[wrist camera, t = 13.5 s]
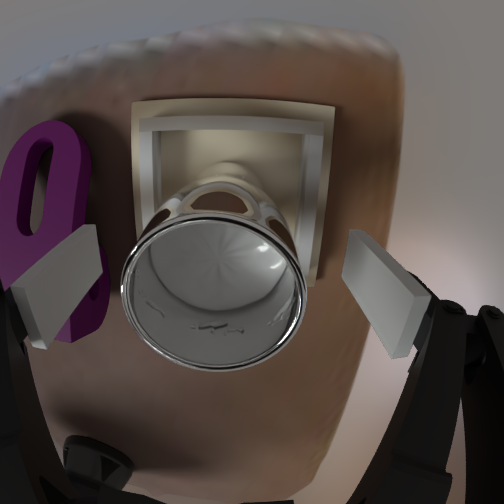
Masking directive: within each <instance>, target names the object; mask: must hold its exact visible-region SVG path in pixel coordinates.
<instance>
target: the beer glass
mask: <svg viewBox="0 0 504 504" xmlns="http://www.w3.org/2000/svg"><path fill="white" fill-rule="evenodd" d="M120 292H121V300H122V305H123V308H124V311H125V314H126V316H127V319H128V321H129V323H130V324H131V326H132V328H133V329H134V331H135V332H136V333H137V335H138V336H139V337H140V338H141V339H142V340H143V342H144V343H145V344H147V345H148V346H149V347H150V348H151V349H152V350H154V351H155V352H156V353H158V354H159V355H161V356H162V357H164V358H166V359H168V360H170V361H172V362H174V363H176V364H179V365H181V366H184V367H187V368H191V369H195V370H200V371H208V372H229V371H236V370H241V369H245V368H249V367H252V366H255V365H257V364H260V363H262V362H264V361H266V360H268V359H269V358H271V357H273V356H274V355H275V354H277V353H278V352H279V351H281V350H282V349H283V348H284V347H285V346H286V345H287V344H288V343H289V342H290V341H291V340H292V338H293V337H294V336H295V334H296V333H297V331H298V329H299V327H300V325H301V323H302V321H303V318H304V315H305V311H306V306H307V286H306V281H305V277H304V274H303V271H302V268H301V265H300V260H299V256H298V252H297V248H296V244H295V241H294V238H293V235H292V233H291V230H290V227H289V225H288V223H287V221H286V219H285V217H284V216H283V214H282V212H281V211H280V209H279V207H278V206H277V205H276V203H275V202H274V201H273V200H272V199H271V198H270V197H269V196H268V195H267V194H266V193H265V191H264V188H263V185H262V183H261V181H260V179H259V178H258V176H257V175H256V174H255V173H254V172H253V171H252V170H250V169H249V168H247V167H246V166H244V165H241V164H238V163H234V162H220V163H216V164H213V165H211V166H209V167H207V168H205V169H204V170H203V171H201V172H200V173H199V174H198V175H197V177H196V178H195V179H194V181H193V182H191V183H189V184H187V185H185V186H183V187H182V188H180V189H179V190H177V191H176V192H175V193H174V194H173V195H171V196H170V197H169V198H168V199H167V200H166V201H165V202H164V203H163V204H162V205H161V206H160V207H159V209H158V210H157V211H156V213H155V214H154V215H153V217H152V218H151V219H150V221H149V222H148V224H147V226H146V227H145V229H144V231H143V232H142V234H141V236H140V238H139V240H138V242H137V243H136V245H135V246H134V247H133V249H132V250H131V252H130V254H129V255H128V257H127V259H126V262H125V264H124V267H123V271H122V275H121V284H120Z"/></svg>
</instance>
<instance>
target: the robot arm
mask: <svg viewBox="0 0 504 504" xmlns="http://www.w3.org/2000/svg"><path fill="white" fill-rule="evenodd" d="M102 272H103V270H102V265H101V259H100V253H99V246H98V239H97V232H96V224H89V225H82V226H81V227H80V228H78V229H77V230H76V231H74V232H73V233H72V234H70V235H69V236H68V237H67V238H65V239H64V240H63V241H62V242H60V243H59V244H58V245H57V246H55V247H54V248H53V249H52V250H50V251H49V252H48V253H47V254H46V255H44V256H43V257H42V258H41V259H40V260H39V261H37V262H36V263H35V264H34V265H33V266H32V267H30V268H29V269H28V270H27V271H26V272H25V273H24V274H23V275H21V276H20V277H19V278H18V279H17V280H16V281H15V282H14V283H13V284H12V285H11V286H10V287H9V288H8V289H7V290H6V291H4V288H3V285H2V282H1V279H0V504H166V503H163V502H160V501H158V500H155V499H153V498H150V497H147V496H145V495H141V494H136V493H130V492H126V491H122V489H123V488H124V486H125V485H126V483H127V482H128V480H129V479H130V477H131V476H132V472H133V467H134V465H133V463H132V462H131V460H130V459H128V458H127V457H126V456H125V455H123V454H122V453H120V452H118V451H117V450H115V449H113V448H111V447H109V446H107V445H105V444H102V443H100V442H97V441H95V440H92V439H88V438H84V437H80V436H69V437H67V438H66V440H65V443H64V446H63V464H64V467H63V465H62V463H61V460H60V458H59V456H58V453H57V451H56V448H55V446H54V443H53V440H52V438H51V435H50V432H49V429H48V427H47V424H46V421H45V418H44V415H43V411H42V408H41V405H40V402H39V398H38V395H37V391H36V387H35V383H34V379H33V375H32V371H31V367H30V362H29V357H28V352H27V347H26V345H25V343H24V341H23V340H24V339H25V338H26V336H27V335H28V336H29V339H30V341H31V343H32V346H33V347H37V348H42V349H46V350H47V348H48V347H49V345H50V344H51V342H52V341H53V339H54V338H55V336H56V335H57V333H58V332H59V331H60V329H61V328H62V326H63V325H64V323H65V322H66V320H67V319H68V318H69V316H70V315H71V313H72V312H73V311H74V309H75V308H76V307H77V305H78V304H79V302H80V301H81V300H82V298H83V297H84V296H85V294H86V293H87V292H88V290H89V289H90V288H91V287H92V285H93V284H94V283H95V281H96V280H97V279H98V277H99V276H100V275H101V274H102ZM341 277H342V279H343V280H344V282H345V284H346V285H347V287H348V288H349V290H350V291H351V293H352V294H353V296H354V298H355V299H356V301H357V302H358V304H359V306H360V307H361V309H362V310H363V312H364V314H365V315H366V317H367V319H368V320H369V322H370V323H371V325H372V327H373V328H374V330H375V332H376V333H377V335H378V337H379V338H380V340H381V342H382V343H383V345H384V347H385V349H386V350H387V352H388V354H389V355H390V357H391V359H394V358H401V357H407V356H408V355H409V352H410V350H411V348H412V345H413V344H414V346H415V347H416V349H417V350H418V351H417V353H416V355H415V357H414V359H413V361H412V364H411V366H410V368H409V370H408V372H409V375H408V378H407V381H406V383H405V386H404V389H403V392H402V394H401V396H400V399H399V402H398V404H397V407H396V409H395V411H394V414H393V416H392V419H391V421H390V423H389V425H388V428H387V430H386V432H385V434H384V436H383V438H382V440H381V443H380V445H379V447H378V449H377V451H376V453H375V455H374V457H373V459H372V461H371V462H370V465H369V466H368V468H367V470H366V472H365V474H364V475H363V477H362V479H361V481H360V483H359V484H358V486H357V488H356V489H355V491H354V493H353V494H352V496H351V497H350V499H349V500H348V502H347V503H346V504H446V500H447V498H448V495H449V492H450V488H451V484H452V474H451V473H447V472H446V470H445V469H446V464H447V461H448V457H449V453H450V449H451V445H452V440H453V436H454V431H455V427H456V422H457V416H458V411H459V405H460V398H461V400H462V409H463V418H464V431H465V447H466V495H465V496H466V497H465V504H504V314H503V313H502V312H501V311H500V309H498V308H496V307H495V306H489V305H484V306H482V307H481V308H480V310H479V313H478V315H477V316H473V315H467V313H466V310H465V309H464V308H463V307H462V306H461V305H459V304H458V303H456V302H454V301H450V300H440V299H439V298H438V297H437V296H436V295H435V294H434V293H433V292H432V291H431V290H430V289H429V288H427V286H426V285H425V284H424V283H422V281H421V280H420V279H419V278H418V277H417V276H415V275H414V274H412V273H410V272H408V271H406V270H405V269H404V268H403V267H402V266H401V265H400V264H399V263H398V262H397V261H396V260H395V259H394V258H393V257H392V256H391V255H390V254H389V253H388V252H387V251H385V250H384V249H383V248H382V247H381V246H380V245H379V244H378V243H377V242H376V241H375V240H373V239H372V238H371V237H370V236H369V235H368V234H367V233H366V232H365V231H363V230H355V229H350V230H349V236H348V242H347V248H346V254H345V260H344V265H343V271H342V276H341ZM241 504H294V501H293V500H285V501H273V502H253V503H241Z"/></svg>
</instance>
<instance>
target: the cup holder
mask: <svg viewBox="0 0 504 504" xmlns="http://www.w3.org/2000/svg"><path fill="white" fill-rule="evenodd" d="M334 114H335V107H332V106H324V105H317V104H308V103H299V102H289V101H277V100H262V99H240V98H189V99H167V100H152V101H140V102H132V123H131V142H132V178H133V197H134V211H135V224H136V234H137V242H138V240H139V238H140V236H141V234H142V232H143V231H144V229H145V227H146V226H147V224H148V222H149V221H150V219H151V218H152V217H153V215H154V214H155V213H156V211H157V210H158V209H159V207H160V206H161V205H162V204H163V203H164V202H165V201H166V200H167V199H168V198H169V197H170V196H171V195H173V194H174V193H175V192H176V191H177V190H179V189H180V188H182V187H183V186H185V185H187V184H189V183H191V182H193V181H194V179H195V178H196V177H197V175H198V174H199V173H200V172H201V171H203V170H204V169H205V168H207V167H209V166H211V165H213V164H216V163H220V162H234V163H238V164H241V165H244V166H246V167H247V168H249V169H250V170H252V171H253V172H254V173H255V174H256V175H257V176H258V178H259V179H260V181H261V183H262V185H263V188H264V191H265V193H266V194H267V195H268V196H269V197H270V198H271V199H272V200H273V201H274V202H275V203H276V205H277V206H278V207H279V209H280V211H281V212H282V214H283V216H284V217H285V219H286V221H287V223H288V225H289V227H290V230H291V233H292V235H293V238H294V241H295V244H296V248H297V252H298V256H299V260H300V265H301V268H302V271H303V274H304V277H305V281H306V286H307V287H315V281H316V275H317V269H318V262H319V255H320V248H321V241H322V234H323V227H324V219H325V211H326V202H327V194H328V184H329V175H330V165H331V154H332V142H333V129H334Z"/></svg>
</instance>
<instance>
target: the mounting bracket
mask: <svg viewBox="0 0 504 504" xmlns="http://www.w3.org/2000/svg"><path fill="white" fill-rule="evenodd" d="M51 146H54V150H53V156H52V161H51V166H50V171H49V177H48V182H47V189H46V195H45V203H44V210H43V219H42V223H41V225H40V227H39V229H38V230H37V232H36V233H35V234H33V233H32V231H31V228H30V214H31V206H32V199H33V192H34V186H35V180H36V174H37V169H38V164H39V160H40V158H41V156H42V154H43V153H44V151H45V150H46V149H48V148H49V147H51ZM90 177H91V155H90V151H89V148H88V145H87V144H86V142H85V140H84V139H83V138H82V137H81V136H80V135H79V134H78V133H77V132H76V131H74V130H73V129H72V128H71V127H70V126H69V125H67V124H66V123H63V122H61V121H46V122H42V123H40V124H37V125H36V126H34V127H32V128H31V129H29V130H28V131H27V132H26V133H25V134H24V135H23V136H21V138H20V139H19V140H18V141H17V142H16V144H15V145H14V147H13V148H12V150H11V151H10V153H9V155H8V157H7V159H6V162H5V164H4V168H3V171H2V175H1V180H0V279H1V282H2V285H3V288H4V291H6V290H7V289H8V288H9V287H10V286H11V285H12V284H13V283H14V282H15V281H16V280H17V279H18V278H19V277H20V276H21V275H23V274H24V273H25V272H26V271H27V270H28V269H29V268H30V267H32V266H33V265H34V264H35V263H36V262H37V261H39V260H40V259H41V258H42V257H43V256H44V255H46V254H47V253H48V252H49V251H50V250H52V249H53V248H54V247H55V246H57V245H58V244H59V243H60V242H62V241H63V240H64V239H65V238H67V237H68V236H69V235H70V234H72V233H73V232H74V231H76V230H77V229H78V228H80V227H81V226H82V225H85V215H86V206H87V198H88V190H89V183H90ZM98 246H99V253H100V259H101V265H102V270H103V272H102V274H101V275H100V276H99V277H98V279H97V280H96V281H95V283H94V284H93V285H92V287H91V288H90V289H89V290H88V292H87V293H86V294H85V296H84V297H83V298H82V300H81V301H80V302H79V304H78V305H77V307H76V308H75V309H74V311H73V312H72V313H71V315H70V316H69V318H68V319H67V320H66V322H65V323H64V325H63V326H62V328H61V329H60V331H59V332H58V333H57V335H56V336H55V338H54V340H59V341H63V342H68V343H72V342H74V341H76V340H78V339H80V338H82V337H84V336H86V335H88V334H90V333H92V332H94V331H96V330H97V329H98V328H99V327H100V326H101V324H102V322H103V320H104V318H105V315H106V312H107V308H108V304H109V297H110V275H109V269H108V262H107V256H106V254H105V252H104V250H103V248H102V247H101V246H100V245H98Z"/></svg>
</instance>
